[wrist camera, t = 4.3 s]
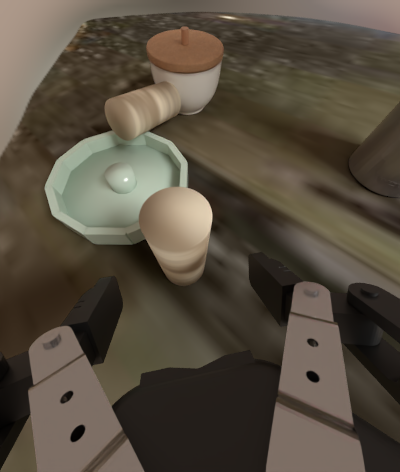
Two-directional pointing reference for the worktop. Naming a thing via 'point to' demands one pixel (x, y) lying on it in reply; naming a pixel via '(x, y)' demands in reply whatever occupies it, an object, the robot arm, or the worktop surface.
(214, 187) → the worktop surface
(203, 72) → the lidded jar
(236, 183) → the worktop surface
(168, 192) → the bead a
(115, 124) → the beige banded cylinder
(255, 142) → the worktop surface
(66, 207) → the ring dish
